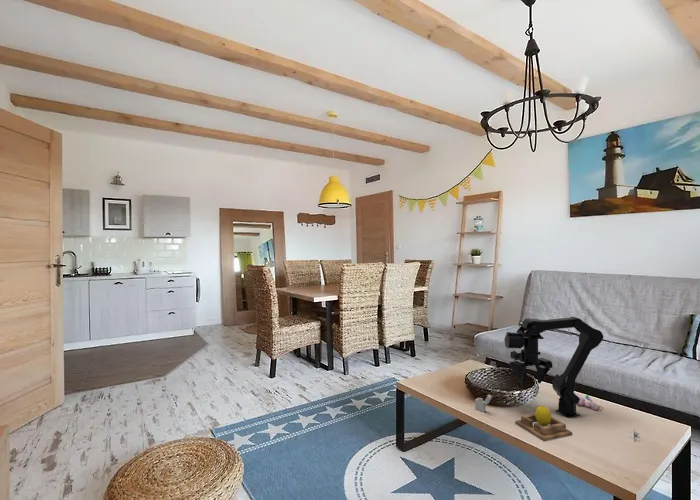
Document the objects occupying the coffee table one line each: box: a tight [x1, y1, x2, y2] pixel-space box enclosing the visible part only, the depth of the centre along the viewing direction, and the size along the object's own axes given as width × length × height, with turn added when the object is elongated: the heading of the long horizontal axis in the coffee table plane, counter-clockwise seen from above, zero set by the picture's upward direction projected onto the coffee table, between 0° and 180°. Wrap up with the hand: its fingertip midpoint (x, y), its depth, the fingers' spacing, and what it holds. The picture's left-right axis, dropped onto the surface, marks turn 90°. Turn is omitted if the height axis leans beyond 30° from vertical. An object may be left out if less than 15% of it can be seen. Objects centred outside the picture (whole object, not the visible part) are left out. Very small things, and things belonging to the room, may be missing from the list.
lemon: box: [534, 405, 552, 426], centre depth 141 cm, size 6×6×8 cm
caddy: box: [514, 412, 573, 442], centre depth 141 cm, size 14×14×4 cm
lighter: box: [474, 393, 493, 413], centre depth 156 cm, size 7×2×8 cm, turn 42°
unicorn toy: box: [577, 394, 604, 412], centre depth 162 cm, size 6×6×15 cm
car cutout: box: [628, 430, 641, 442], centre depth 138 cm, size 15×7×4 cm, turn 140°
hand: (530, 384), depth 155 cm, fingers open, 9 cm apart
